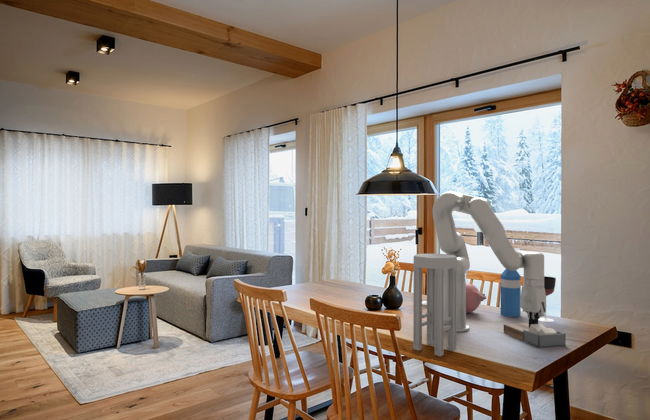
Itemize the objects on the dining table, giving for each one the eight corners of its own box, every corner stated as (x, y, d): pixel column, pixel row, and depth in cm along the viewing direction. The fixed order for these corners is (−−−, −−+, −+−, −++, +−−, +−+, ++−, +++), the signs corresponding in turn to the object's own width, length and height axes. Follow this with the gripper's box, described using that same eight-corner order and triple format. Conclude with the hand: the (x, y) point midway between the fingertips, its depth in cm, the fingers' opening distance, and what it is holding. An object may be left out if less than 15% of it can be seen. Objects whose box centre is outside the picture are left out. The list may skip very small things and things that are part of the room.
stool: (405, 349, 162) (405, 255, 162) (428, 340, 173) (428, 252, 173) (442, 359, 151) (442, 258, 151) (464, 349, 162) (464, 255, 162)
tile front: (537, 339, 169) (542, 344, 167) (540, 328, 168) (545, 333, 165) (548, 338, 171) (553, 343, 168) (551, 327, 169) (556, 332, 166)
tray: (538, 347, 164) (538, 335, 164) (523, 341, 172) (523, 329, 172) (565, 345, 167) (565, 333, 167) (549, 339, 175) (549, 328, 175)
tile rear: (537, 338, 169) (539, 331, 168) (529, 330, 174) (530, 324, 173) (548, 337, 170) (550, 331, 169) (539, 330, 175) (541, 323, 174)
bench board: (522, 340, 173) (522, 332, 173) (503, 332, 184) (503, 324, 184) (548, 338, 176) (548, 330, 176) (527, 330, 187) (528, 322, 187)
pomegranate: (475, 319, 205) (475, 287, 205) (442, 311, 222) (442, 281, 222) (495, 315, 214) (495, 284, 214) (462, 307, 231) (462, 278, 231)
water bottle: (522, 317, 210) (523, 265, 210) (502, 316, 212) (502, 265, 212) (518, 313, 219) (518, 263, 219) (498, 312, 221) (498, 263, 221)
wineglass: (554, 322, 201) (555, 279, 200) (534, 320, 205) (534, 277, 205) (556, 319, 207) (556, 277, 207) (536, 316, 212) (536, 275, 212)
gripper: (513, 280, 182) (513, 324, 182) (539, 286, 167) (538, 334, 167) (528, 279, 183) (528, 323, 183) (555, 285, 169) (555, 333, 169)
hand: (533, 328), depth 175 cm, fingers closed
